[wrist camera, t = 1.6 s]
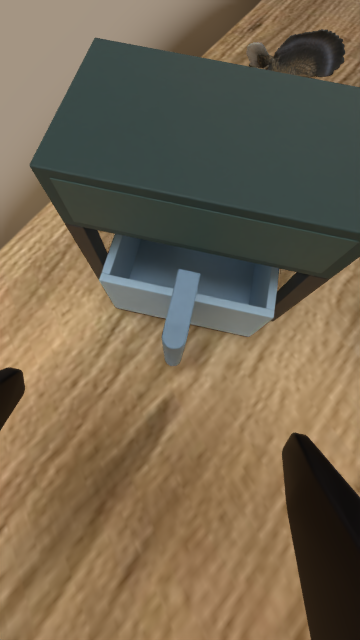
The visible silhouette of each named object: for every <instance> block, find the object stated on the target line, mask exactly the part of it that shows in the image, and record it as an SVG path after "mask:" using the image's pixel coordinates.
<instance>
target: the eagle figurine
mask: <svg viewBox="0 0 360 640" xmlns="http://www.w3.org/2000/svg"><path fill="white" fill-rule="evenodd" d="M342 42H343V39H341V38H339V36H338V35H336V34H335V33H332V31H329V32H328V30H323V29H322V30H318V31H313V32H305V33H302V34H298V35H296V34H295V35H291V36H290V37H289V38H288V39H287V40H286V41H285V42H284V43H283V44H282V45H281V46H280V48H278V50H277V51H276V52H275V55H274V57H273V56H270V55H269V54H268V52H267V51H266V48H265V46H264V45H263V44H262V43H258V42H257V43H252V44H249V45H248V46H247V56H248V58H249V61H250V63H251V64H249V66H250V67H254V68H257V67H258V68H263V69H264V70H270V71H275V72H280V73H286V74H291V75H296V76H302V77H307V78H310V77H313V76H317V77H326V76H330V75H332V74H333V72H334V70H336V69H338V68H339V67H340V65H341V64H343V63H344V57H343V55H344V54H345V50H344V46H345V45H344V44H343V43H342Z"/></svg>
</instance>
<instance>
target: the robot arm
mask: <svg viewBox="0 0 360 640" xmlns="http://www.w3.org/2000/svg"><path fill="white" fill-rule="evenodd" d="M24 391H25V384H24V378H23V372H22V371H21V370H19V369H15V368H5V369H2V370H0V430H1V429H2V427H3V426H4V424H5V422H6V421H7V419H8V418H9V416H10V415H11V413H12V412H13V410H14V408H15V407H16V405H17V404H18V402H19V401H20V399H21V398H22V396H23V394H24ZM282 460H283V472H284V483H285V495H286V505H287V512H288V518H289V523H290V529H291V534H292V539H293V545H294V550H295V556H296V561H297V566H298V572H299V577H300V583H301V588H302V593H303V599H304V604H305V610H306V615H307V620H308V626H309V631H310V637H311V640H360V497H359V496H358V495H357V493H356V492H355V491H354V490H353V489H352V488H351V486H350V485H349V484H348V483H347V482H346V481H345V479H344V478H343V477H342V476H341V475H340V474H339V472H338V471H337V470H336V469H335V468H334V467H333V465H332V464H331V463H330V462H329V461H328V460H327V458H326V457H325V456H324V455H323V454H322V453H321V451H320V450H319V449H318V448H317V447H316V446H315V444H314V443H313V442H312V441H311V440H310V438H309V437H308V436H306V435H303V434H299V433H292V434H291V436H290V437H289V439H288V441H287V442H286V444H285V446H284V448H283V451H282Z"/></svg>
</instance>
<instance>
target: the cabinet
mask: <svg viewBox="0 0 360 640" xmlns="http://www.w3.org/2000/svg"><path fill="white" fill-rule="evenodd" d="M30 167H31V169H32V171H33V172H34V174H35V175H36V177H37V179H38V180H39V182H40V184H41V185H42V187H43V189H44V190H45V192H46V193H47V195H48V197H49V198H50V200H51V202H52V203H53V205H54V207H55V208H56V210H57V212H58V213H59V215H60V217H61V218H62V220H63V221H64V223H65V225H66V227H67V228H68V230H69V231H70V233H71V235H72V236H73V238H74V240H75V241H76V243H77V245H78V246H79V248H80V250H81V251H82V253H83V254H84V256H85V258H86V259H87V261H88V263H89V264H90V266H91V268H92V269H93V271H94V273H95V274H96V276H97V277H98V279H100V276H101V273H102V270H103V267H104V264H105V261H106V258H107V255H108V253H107V251H106V249H105V247H104V244H103V242H102V240H101V237H100V235H99V233H98V231H97V230H100V231H104V232H109V233H114V234H119V235H123V236H128V237H133V238H138V239H142V240H147V241H152V242H157V243H161V244H166V245H171V246H176V247H180V248H185V249H190V250H195V251H199V252H204V253H209V254H214V255H218V256H223V257H228V258H233V259H237V260H242V261H247V262H252V263H256V264H261V265H266V266H271V267H275V268H280V269H285V270H289V271H294V272H297V273H296V274H295V275H293V276H292V277H291V278H290V279H289V280H288V281H287V282H286V283H285V284H284V285H283V286H282V287H281V288H280V289H279V290H278V291H277V293H276V302H275V310H274V318H273V319H272V320H271V321H274V320H275V319H277V318H278V317H280V316H281V315H282V314H284V313H285V312H286V311H288V310H289V309H290V308H292V307H293V306H294V305H296V304H297V303H298V302H300V301H301V300H302V299H304V298H305V297H306V296H308V295H309V294H310V293H312V292H313V291H315V290H316V289H317V288H319V287H320V286H321V285H323V284H324V283H325V282H327V281H328V280H329V279H330V278H332V277H333V276H335V275H336V274H337V273H339V272H340V271H341V270H343V269H344V268H345V267H347V266H348V265H349V264H351V263H352V262H353V261H355V260H356V259H357V258H359V257H360V87H355V86H350V85H344V84H339V83H334V82H328V81H323V80H318V79H312V78H307V77H302V76H296V75H291V74H286V73H280V72H275V71H270V70H264V69H259V68H254V67H249V66H243V65H238V64H233V63H227V62H222V61H217V60H211V59H206V58H201V57H195V56H190V55H185V54H179V53H174V52H169V51H163V50H158V49H153V48H147V47H142V46H137V45H131V44H126V43H121V42H115V41H110V40H105V39H100V38H94V40H93V42H92V44H91V46H90V48H89V50H88V52H87V54H86V56H85V58H84V60H83V62H82V64H81V66H80V68H79V69H78V71H77V73H76V75H75V77H74V79H73V81H72V83H71V85H70V87H69V89H68V91H67V93H66V95H65V97H64V99H63V101H62V103H61V105H60V106H59V108H58V110H57V112H56V114H55V116H54V118H53V120H52V122H51V124H50V126H49V128H48V130H47V132H46V133H45V136H44V137H43V140H42V141H41V143H40V145H39V147H38V149H37V151H36V153H35V155H34V157H33V159H32V161H31V163H30Z"/></svg>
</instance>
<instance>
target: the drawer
mask: <svg viewBox="0 0 360 640" xmlns="http://www.w3.org/2000/svg"><path fill="white" fill-rule="evenodd" d="M278 276H279V268H275V267H271V266H266V265H261V264H256V263H252V262H247V261H242V260H237V259H233V258H228V257H223V256H218V255H214V254H209V253H204V252H199V251H195V250H190V249H185V248H180V247H176V246H171V245H166V244H161V243H157V242H152V241H147V240H142V239H138V238H133V237H128V236H123V235H119V234H115V235H114V238H113V241H112V244H111V247H110V250H109V253H108V255H107V258H106V261H105V264H104V267H103V270H102V273H101V276H100V279H99V281H100V283H101V284H102V286H103V288H104V289H105V291H106V293H107V294H108V296H109V298H110V299H111V301H112V302H113V304H114V306H115V307H116V308H119V309H124V310H128V311H133V312H138V313H142V314H147V315H151V316H156V317H160V318H165V319H166V321H165V325H164V329H163V333H162V343H163V350H164V356H165V361H166V363H167V364H168V365H170V366H176V365H178V364H179V363H180V361H181V358H182V355H183V351H184V348H185V344H186V340H187V336H188V331H189V327H190V324H192V325H197V326H201V327H206V328H211V329H215V330H220V331H224V332H229V333H233V334H238V335H242V336H247V337H250V336H251V335H252V334H254V333H255V332H256V331H258V330H259V329H260V328H261V327H263V326H264V325H265V324H267V323H268V322H269V321H271V320H272V319H273V318H274V310H275V302H276V293H277V285H278Z"/></svg>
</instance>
